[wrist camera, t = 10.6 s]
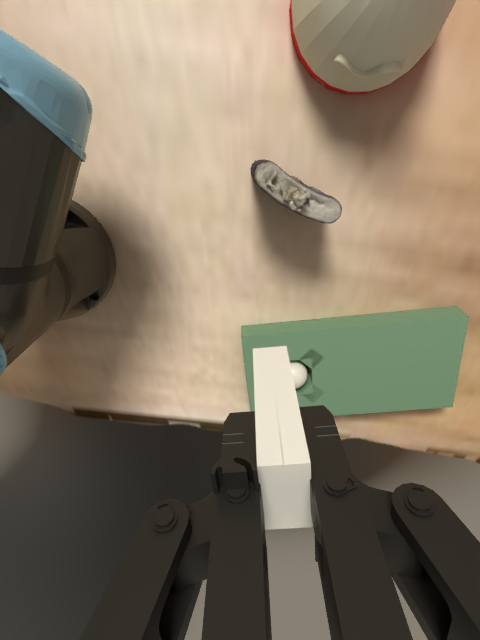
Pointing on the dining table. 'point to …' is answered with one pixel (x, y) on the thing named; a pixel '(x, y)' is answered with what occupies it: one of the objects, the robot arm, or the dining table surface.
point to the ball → (298, 373)
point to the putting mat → (369, 359)
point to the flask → (295, 193)
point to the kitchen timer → (364, 39)
